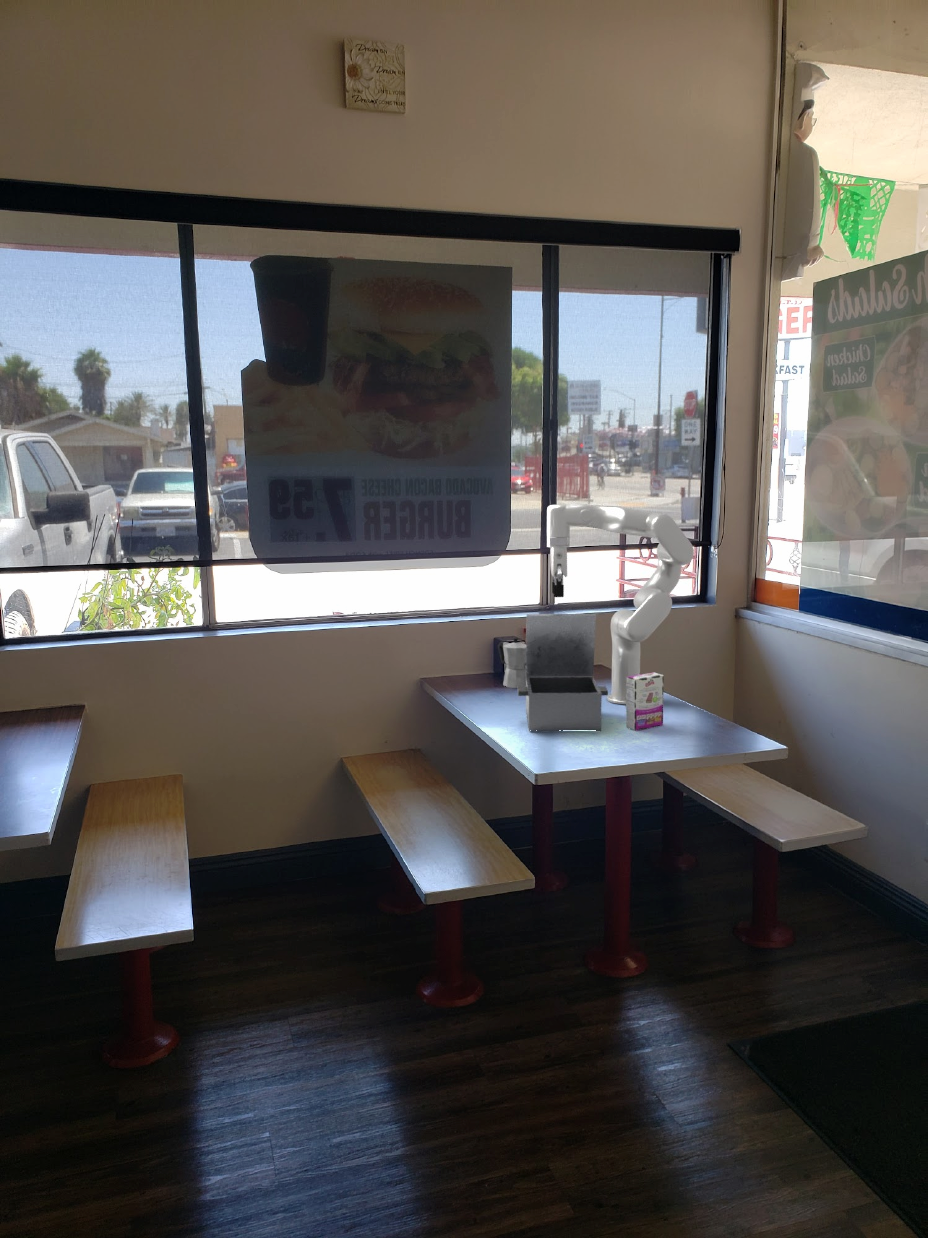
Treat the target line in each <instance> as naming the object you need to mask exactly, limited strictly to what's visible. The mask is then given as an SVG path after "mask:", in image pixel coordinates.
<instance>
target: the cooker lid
mask: <svg viewBox="0 0 928 1238" xmlns="http://www.w3.org/2000/svg"><path fill="white" fill-rule="evenodd" d="M596 625H597V614H596V613H532V614H531V613H528V614H527V613H526V626H525V627H526V638H525V641H526V642H525V643H526V644H525V645H526V663H525V669H526V677H594V666H595V644H596V642H595V641H596Z"/></svg>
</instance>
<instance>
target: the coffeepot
mask: <svg viewBox="0 0 928 1238" xmlns="http://www.w3.org/2000/svg"><path fill="white" fill-rule="evenodd" d="M512 639H513V642H511V643H509V642H508V641H507V642H506V641H500V642H499V643H498V645H497V649H498V654H499V657H500V662H501V664H505V665H506V667H505V671H504V676H503V683H502V685H503V686H504V687H505V686H506V687H505V688H508V689H518V687H526V644H525V643H521V642H518V637H513V638H512Z"/></svg>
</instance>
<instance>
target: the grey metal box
mask: <svg viewBox="0 0 928 1238" xmlns="http://www.w3.org/2000/svg"><path fill="white" fill-rule="evenodd" d="M608 695H609V691H608V688H607V687H606V685H605V686H604V685H603V686H600V685H598V684H597V682H596V680H595V677H594V676H567V677H526V687H518V688H517V696H518V697H521V696H524V697H525V715H527V716H526V722H527V726H528V732H529V731H530V730H531V731H536V730H537V731H559V730H561V731H563V730H596V731H601V732H602V696H608Z"/></svg>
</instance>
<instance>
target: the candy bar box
mask: <svg viewBox="0 0 928 1238" xmlns="http://www.w3.org/2000/svg"><path fill="white" fill-rule="evenodd" d="M664 679H665V678H664V674H662V673H657V672H649V673H642V674H641V673H640V675H634V676H628V677H626V704H625V706H626V707H625V709H626V711H625V712H626V713H625V714H626V715H625V719H626V720H625V721H626V722H625V724H626V725H625V727H626V728H627V729H629V728H630V730H633V731H634V732H636V730H637V731H641V730H647V728H648V729H652V728H658V727H663V726H664V684H665V683H664Z"/></svg>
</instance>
